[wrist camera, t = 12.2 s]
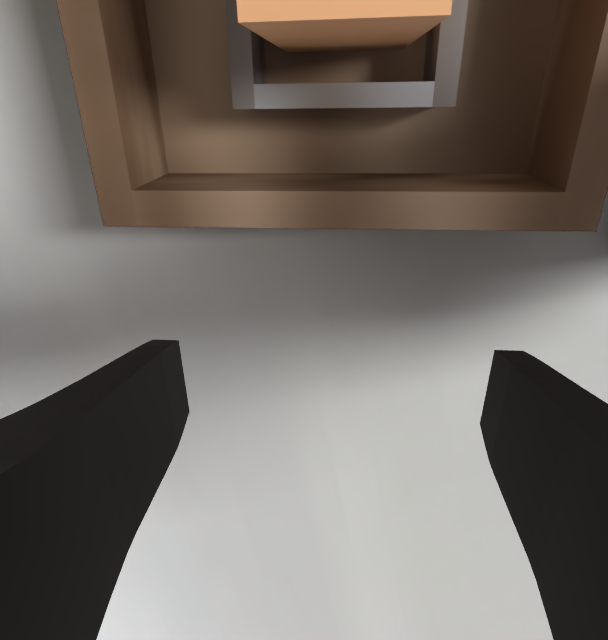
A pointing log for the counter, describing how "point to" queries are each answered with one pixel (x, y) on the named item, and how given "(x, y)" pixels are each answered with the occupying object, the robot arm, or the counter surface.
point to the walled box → (344, 119)
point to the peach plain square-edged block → (341, 22)
